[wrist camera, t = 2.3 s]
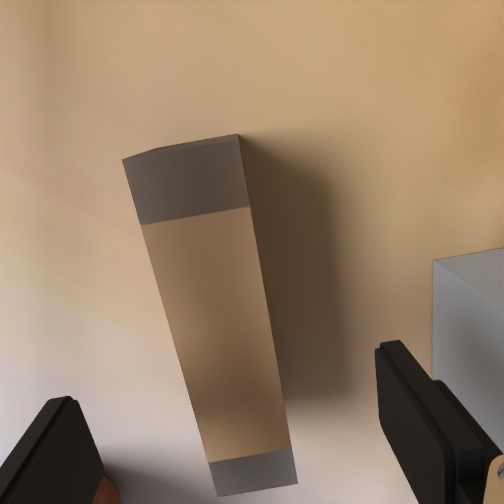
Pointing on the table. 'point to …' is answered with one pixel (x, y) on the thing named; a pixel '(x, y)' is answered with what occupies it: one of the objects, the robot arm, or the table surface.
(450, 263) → the post
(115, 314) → the table surface
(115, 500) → the wooden figurine
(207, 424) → the rail
